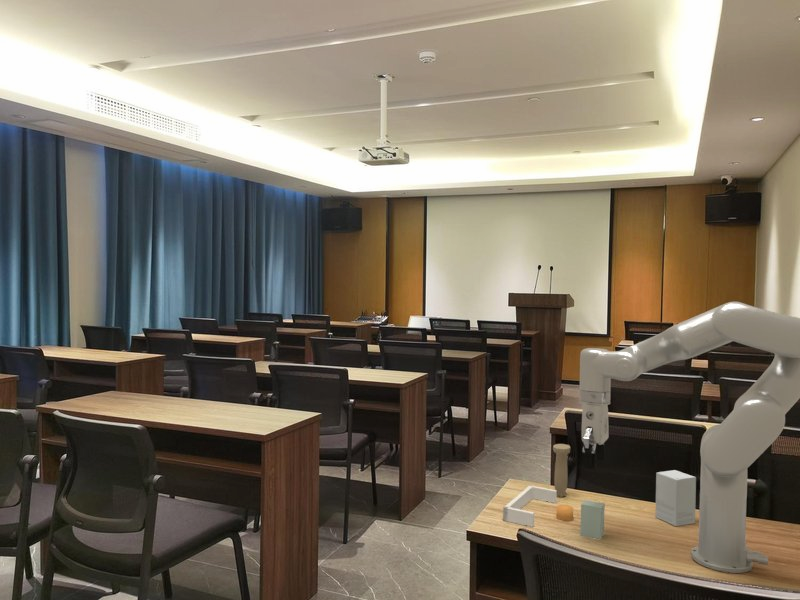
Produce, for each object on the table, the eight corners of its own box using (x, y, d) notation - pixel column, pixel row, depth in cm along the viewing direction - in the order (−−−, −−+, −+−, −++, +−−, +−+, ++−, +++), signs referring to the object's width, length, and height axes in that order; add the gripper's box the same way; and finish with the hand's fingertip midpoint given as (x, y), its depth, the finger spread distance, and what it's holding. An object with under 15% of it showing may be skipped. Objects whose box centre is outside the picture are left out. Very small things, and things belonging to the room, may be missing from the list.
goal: (556, 502, 176) (556, 490, 176) (532, 527, 157) (533, 513, 157) (529, 496, 180) (529, 485, 180) (503, 520, 161) (503, 507, 161)
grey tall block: (603, 534, 153) (604, 503, 153) (600, 539, 150) (601, 508, 150) (583, 530, 156) (584, 499, 156) (580, 535, 152) (581, 504, 152)
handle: (570, 494, 184) (572, 445, 184) (566, 500, 178) (567, 450, 178) (555, 491, 186) (556, 443, 186) (549, 497, 180) (551, 447, 180)
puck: (574, 517, 165) (575, 506, 165) (570, 522, 161) (570, 511, 161) (558, 514, 167) (559, 503, 167) (554, 519, 163) (554, 508, 163)
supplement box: (696, 523, 162) (697, 477, 162) (675, 527, 159) (676, 479, 159) (674, 513, 169) (675, 469, 169) (654, 517, 166) (655, 471, 166)
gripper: (602, 403, 143) (601, 475, 143) (616, 393, 158) (615, 458, 158) (571, 400, 147) (569, 470, 147) (587, 391, 162) (586, 454, 162)
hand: (593, 463), depth 153 cm, fingers open, 9 cm apart
